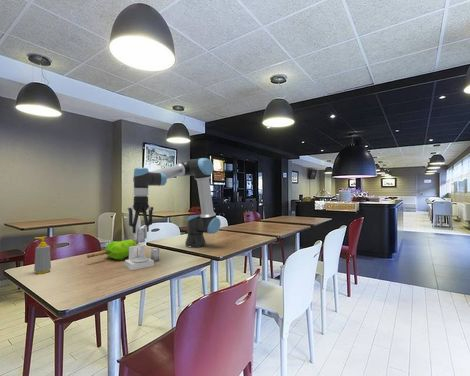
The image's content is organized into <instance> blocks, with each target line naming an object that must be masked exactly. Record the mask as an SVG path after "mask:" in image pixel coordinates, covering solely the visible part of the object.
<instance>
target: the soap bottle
mask: <svg viewBox="0 0 470 376" xmlns="http://www.w3.org/2000/svg"><path fill="white" fill-rule="evenodd" d="M47 237H48V236H40V237H39V236H38V237H34V239H36V240H37V239H38V240H41V241H40V243H39V244H38V246H36V247H35V251H34V252H35V255H34V256H35V257H34V268H33V269H34V270H33V271H34V272H35V274H37V275H42V274H46V273H49V272H50V270H51V269H52V262H51V246H50V245H48V244H47V242H46V241H45V240H46V239H45V238H47Z"/></svg>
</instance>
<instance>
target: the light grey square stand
mask: <svg viewBox="0 0 470 376" xmlns="http://www.w3.org/2000/svg"><path fill="white" fill-rule="evenodd" d="M124 266H125V267H126V268H127V269H129V270H130V271H134V270H141V269H145V268H151V267H154V266H155V263H154V260H152V259H151V257H150V258H149V256H145V245H144V244H140V245H137V246H132V247H129V256H128V259H124Z"/></svg>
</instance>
